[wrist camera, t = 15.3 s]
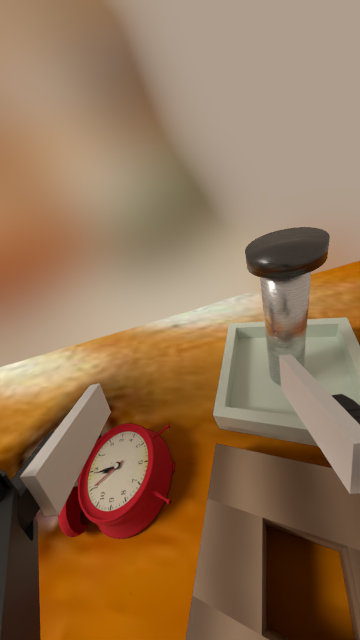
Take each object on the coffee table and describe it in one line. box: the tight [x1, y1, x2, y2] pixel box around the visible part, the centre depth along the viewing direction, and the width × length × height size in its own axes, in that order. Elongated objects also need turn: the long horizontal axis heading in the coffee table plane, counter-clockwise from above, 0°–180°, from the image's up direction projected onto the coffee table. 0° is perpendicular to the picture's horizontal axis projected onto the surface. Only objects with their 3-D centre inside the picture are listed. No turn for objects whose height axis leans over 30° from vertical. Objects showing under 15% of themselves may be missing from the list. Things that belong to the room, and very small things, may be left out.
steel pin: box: [245, 227, 329, 386], centre depth 22 cm, size 6×6×18 cm
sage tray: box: [213, 317, 360, 446], centre depth 26 cm, size 16×16×4 cm
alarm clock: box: [58, 423, 175, 539], centre depth 23 cm, size 10×6×15 cm
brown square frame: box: [186, 444, 360, 640], centre depth 14 cm, size 14×14×4 cm
